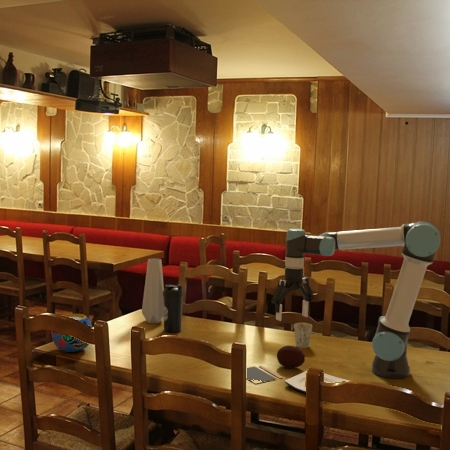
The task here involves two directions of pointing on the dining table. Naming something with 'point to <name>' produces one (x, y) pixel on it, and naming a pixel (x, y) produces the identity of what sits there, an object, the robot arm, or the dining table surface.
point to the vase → (153, 292)
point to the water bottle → (173, 308)
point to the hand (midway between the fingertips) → (291, 318)
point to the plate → (300, 379)
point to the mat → (258, 374)
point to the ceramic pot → (70, 342)
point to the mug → (302, 334)
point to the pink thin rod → (271, 372)
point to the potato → (290, 356)
